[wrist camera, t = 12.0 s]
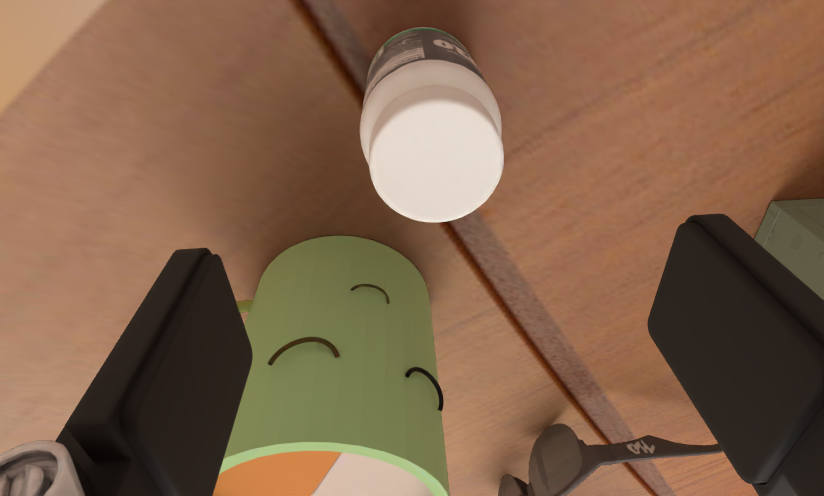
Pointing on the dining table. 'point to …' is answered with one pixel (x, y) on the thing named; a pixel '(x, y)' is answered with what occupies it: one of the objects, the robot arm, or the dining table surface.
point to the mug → (338, 379)
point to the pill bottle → (430, 127)
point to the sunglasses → (585, 460)
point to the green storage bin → (796, 238)
